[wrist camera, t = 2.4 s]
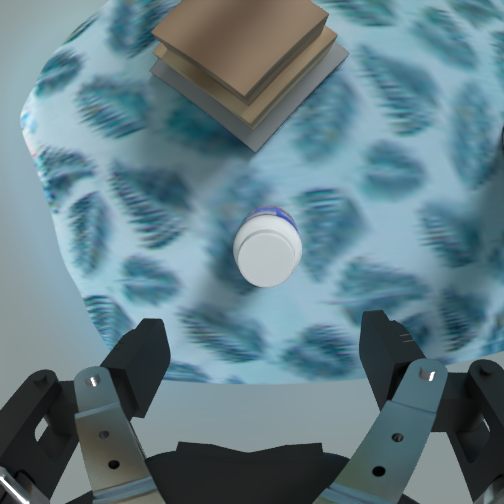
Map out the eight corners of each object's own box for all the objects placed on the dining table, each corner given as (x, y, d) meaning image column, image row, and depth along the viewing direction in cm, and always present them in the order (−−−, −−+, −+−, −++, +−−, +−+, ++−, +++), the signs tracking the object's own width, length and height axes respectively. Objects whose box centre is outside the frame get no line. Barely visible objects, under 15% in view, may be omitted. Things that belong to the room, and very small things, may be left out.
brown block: (328, 52, 24) (348, 15, 16) (253, 130, 26) (245, 116, 18) (241, -7, 22) (232, -53, 14) (168, 66, 25) (133, 37, 17)
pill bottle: (302, 248, 31) (315, 286, 21) (251, 263, 31) (242, 306, 22) (286, 197, 29) (294, 212, 20) (234, 213, 30) (217, 236, 21)
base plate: (347, 56, 25) (350, 53, 24) (256, 152, 28) (255, 152, 27) (241, -15, 23) (240, -20, 22) (153, 73, 26) (148, 70, 25)
